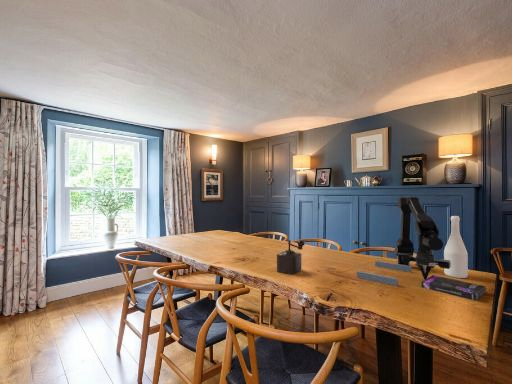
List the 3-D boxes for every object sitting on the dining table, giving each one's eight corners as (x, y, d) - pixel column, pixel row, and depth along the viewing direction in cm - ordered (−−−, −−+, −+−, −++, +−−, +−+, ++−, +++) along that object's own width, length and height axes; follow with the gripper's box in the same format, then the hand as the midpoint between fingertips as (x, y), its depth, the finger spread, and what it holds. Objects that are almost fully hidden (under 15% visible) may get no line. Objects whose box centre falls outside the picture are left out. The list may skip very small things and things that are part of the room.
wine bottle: (446, 271, 139) (445, 215, 139) (469, 275, 132) (468, 216, 132) (442, 275, 132) (441, 216, 132) (466, 280, 125) (465, 217, 126)
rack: (375, 265, 150) (375, 260, 150) (411, 272, 138) (411, 266, 138) (357, 277, 129) (356, 271, 129) (397, 286, 117) (397, 279, 117)
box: (420, 289, 116) (477, 302, 100) (420, 281, 116) (476, 293, 100) (433, 282, 124) (486, 293, 109) (432, 274, 124) (486, 285, 109)
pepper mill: (275, 272, 139) (275, 238, 139) (284, 267, 148) (284, 235, 148) (303, 277, 130) (302, 241, 130) (311, 271, 140) (310, 237, 140)
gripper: (398, 246, 122) (398, 279, 122) (447, 251, 110) (447, 289, 110) (404, 242, 131) (404, 273, 131) (450, 247, 118) (450, 282, 118)
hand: (425, 279), depth 122 cm, fingers closed
